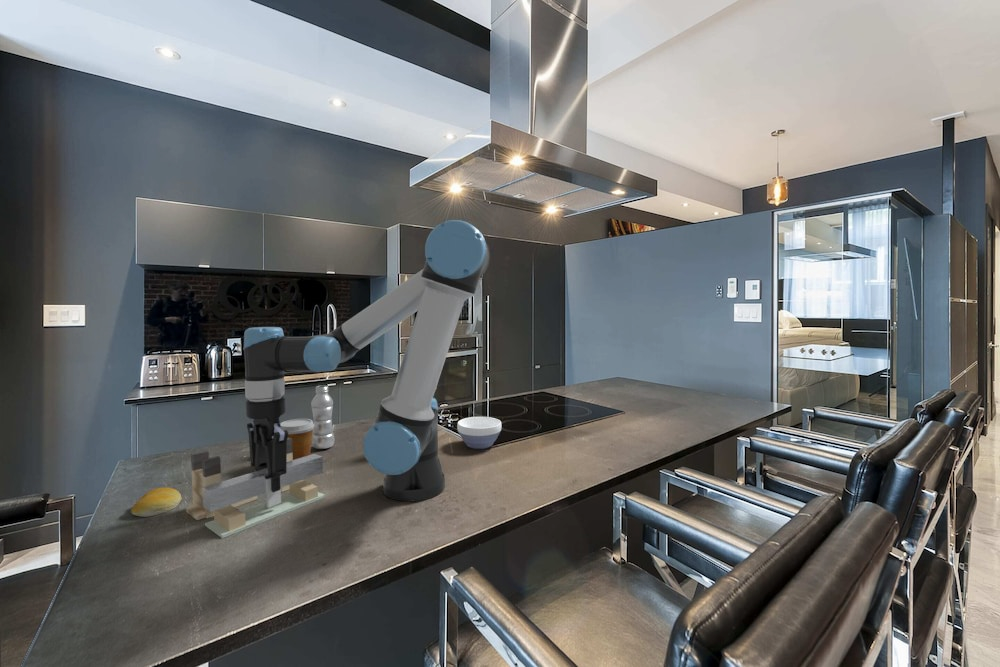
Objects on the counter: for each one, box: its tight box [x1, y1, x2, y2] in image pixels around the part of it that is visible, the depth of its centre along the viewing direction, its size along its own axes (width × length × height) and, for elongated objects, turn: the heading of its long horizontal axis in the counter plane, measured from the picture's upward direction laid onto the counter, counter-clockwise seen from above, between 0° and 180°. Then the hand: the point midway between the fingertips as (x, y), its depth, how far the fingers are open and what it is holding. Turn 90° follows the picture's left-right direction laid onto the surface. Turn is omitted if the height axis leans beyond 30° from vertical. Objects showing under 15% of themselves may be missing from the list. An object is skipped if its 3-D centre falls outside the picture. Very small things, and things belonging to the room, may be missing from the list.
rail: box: [202, 453, 324, 512], centre depth 94 cm, size 4×24×4 cm, turn 145°
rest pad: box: [205, 479, 326, 539], centre depth 94 cm, size 8×22×3 cm, turn 145°
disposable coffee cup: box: [280, 418, 314, 460], centre depth 122 cm, size 10×10×12 cm
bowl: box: [456, 416, 502, 450], centre depth 139 cm, size 14×14×8 cm
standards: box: [186, 438, 293, 521], centre depth 100 cm, size 7×22×12 cm, turn 145°
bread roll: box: [131, 487, 183, 518], centre depth 95 cm, size 8×9×4 cm
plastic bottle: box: [310, 384, 335, 450], centre depth 135 cm, size 6×7×20 cm
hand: (269, 501), depth 94 cm, fingers closed on rail, 3 cm apart
